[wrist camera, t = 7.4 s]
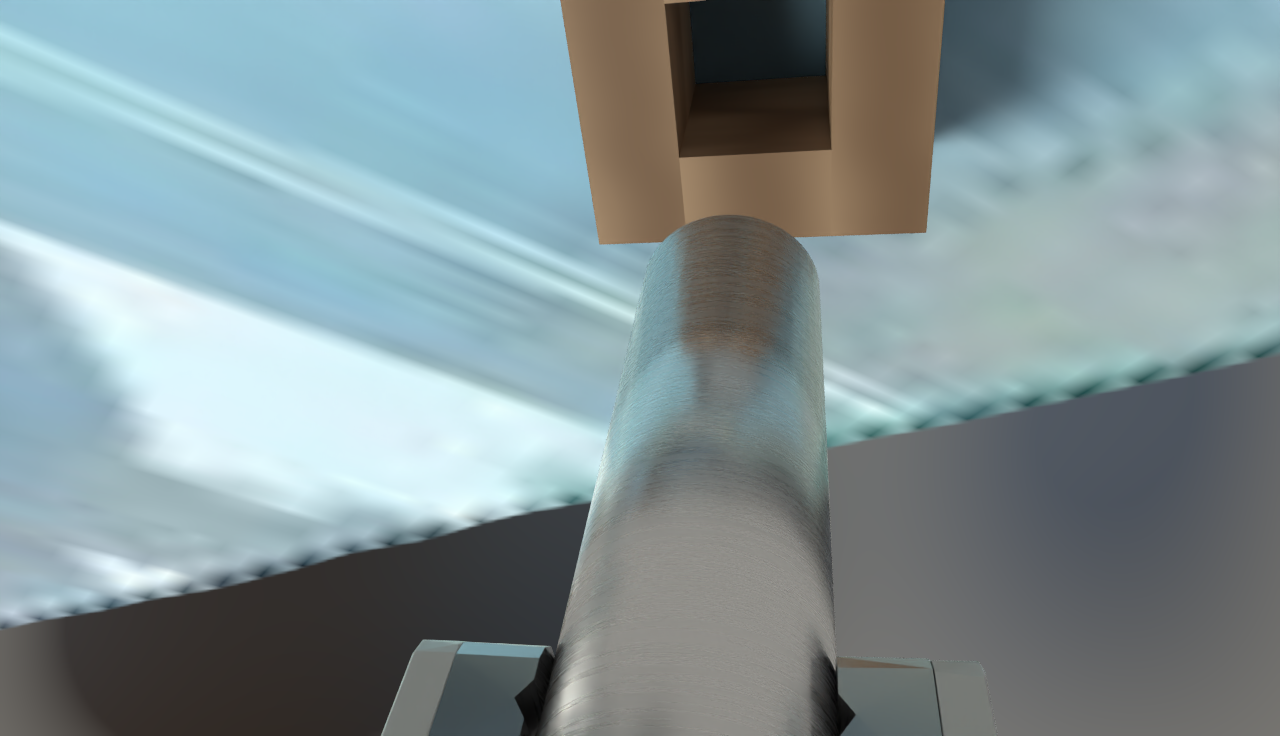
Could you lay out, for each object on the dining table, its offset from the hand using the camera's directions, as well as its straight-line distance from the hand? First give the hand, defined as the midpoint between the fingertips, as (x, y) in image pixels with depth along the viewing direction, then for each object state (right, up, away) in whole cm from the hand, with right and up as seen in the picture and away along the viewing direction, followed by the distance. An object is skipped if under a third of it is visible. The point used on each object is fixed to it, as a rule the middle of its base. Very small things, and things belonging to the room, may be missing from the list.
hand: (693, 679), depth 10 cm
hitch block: (+3, +15, +20) cm, 25 cm away
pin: (+1, +5, +6) cm, 8 cm away
